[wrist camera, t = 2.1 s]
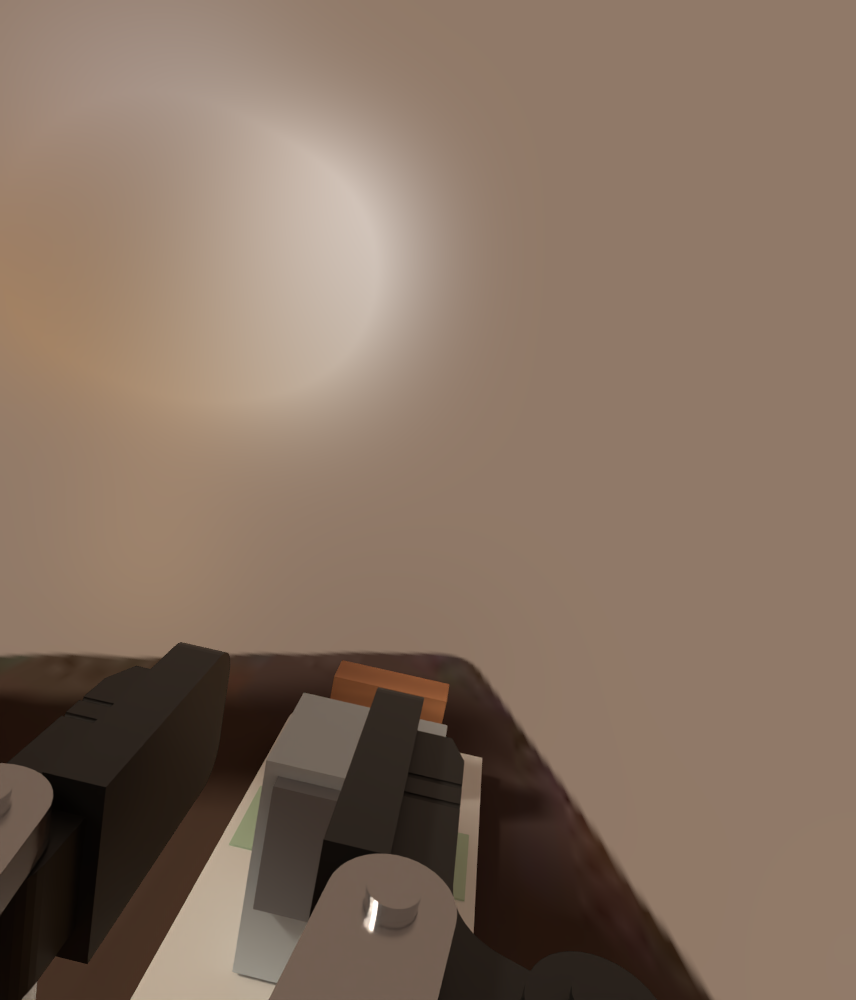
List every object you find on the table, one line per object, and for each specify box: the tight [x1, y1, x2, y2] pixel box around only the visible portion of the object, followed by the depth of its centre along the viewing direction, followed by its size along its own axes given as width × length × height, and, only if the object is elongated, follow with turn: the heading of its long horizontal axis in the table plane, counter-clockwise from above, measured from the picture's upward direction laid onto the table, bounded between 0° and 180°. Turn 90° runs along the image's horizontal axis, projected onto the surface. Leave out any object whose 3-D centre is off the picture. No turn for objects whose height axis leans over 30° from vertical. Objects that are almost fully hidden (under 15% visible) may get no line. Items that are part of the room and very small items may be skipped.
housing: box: [131, 714, 482, 1000], centre depth 35 cm, size 22×12×2 cm, turn 174°
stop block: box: [330, 660, 449, 724], centre depth 41 cm, size 2×6×6 cm, turn 84°
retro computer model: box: [232, 693, 447, 983], centre depth 29 cm, size 6×6×9 cm
